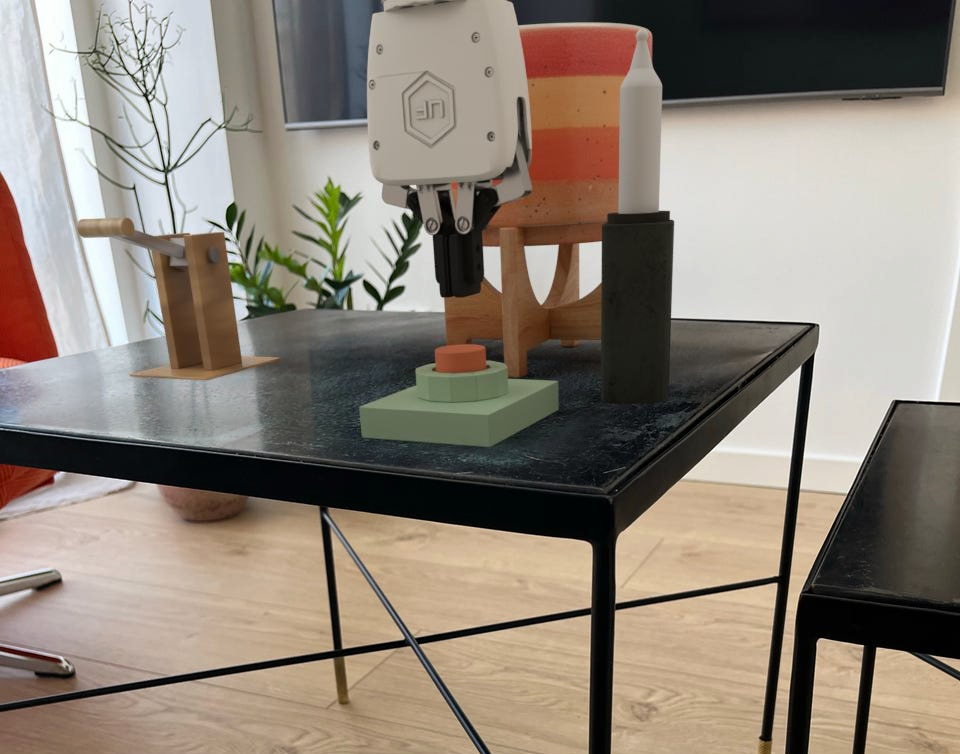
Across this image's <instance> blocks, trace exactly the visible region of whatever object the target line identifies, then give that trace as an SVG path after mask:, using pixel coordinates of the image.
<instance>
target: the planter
mask: <svg viewBox="0 0 960 754" xmlns="http://www.w3.org/2000/svg"><path fill="white" fill-rule="evenodd" d="M518 28H519V33H520V38H521V43H522V49H523V55H524V61H525V68H526V76H527V83H528V93H529V104H530V117H531V134H532V155H531V163H530V166H529V168H528V172H529V176H530V180H531V185H532V192H531V194H530V195H529V196H527V197H525V198H522V199H519V200H516V201H513V202H510V203H507V204H504V205H502V206H501V207H500V208H499V210H498V211H497V212H496V214H495V215H494V216H493V218H492V219H491V220H490V221H489V226H488V228H487V229H486V230H485V231H482V238H483V248H487V247H488V248H490V247H491V248H493V247H495V248H499V252H500V279H501V281H500V282H501V291H499V290H498V289H497V288H496V287H495V286H494V285H493V284H492V283H491V282H490V281H489V280H488V279H487V278H486V277H485V276H484V279H483V281H482V282H481V291H480V293H478V294H474V295H471V296H467V297H463V298H456V297H455V296H453V297H450V298H443V304H444V320H445V321H444V322H445V337H446V338H445V339H446V341H445V342H446V346H449V345H462V344H472V345H473V340H502V341H503V363H505V364H506V366H507V368H508V379H521V378H524V377H525V376H527V375H528V352H529V351H530V350H532V349H534V348H536V347H538V346H540V345H542V344H544V343H546V342H547V341H550V340H551V341H552V340H553V341H560V346H561V347H569V348H570V347H571V348H573V347H576V346H578V345H580V341H601V286H602V281H600V283H599V284H598V285H597V286H596V287H595V288H594V289H593V290H592V291H590V292H589V293H588V294H586V295H585V296H583V297H581V298H580V244H588V243H600V242H602V225H603V224H605V223H607V214H608V213H618V212H619V131H620V87H621V85H622V83H623V81H624V79H625V77H626V76H627V74H628V72H629V70H630V67H631V63H632V59H633V56H634V52H635V48H636V45H637V39H636V34H637V32H638V31H639V30H640V29H645V30H646V31H647V33H648V38H647V45H648V49H649V53H650V57H651V61H652V62H653V34H652V32H651V31H650V30H649V29H648V28H646V27H642V26H639V25H635V24H629V23H628V24H627V23H619V22H618V23H616V22H589V21H587V22H551V23H536V24H535V23H533V24H531V23H530V24H521V25H520V24H518ZM502 180H503V179H502ZM502 180H493V182H492V186H494V185H496V184H499V183H500V182H501V181H502ZM451 185H452V190H453V196H454V201H455V207H456V203H457V187H458V183H451ZM541 246H543V247H544V246H558V247H557V258H556V264H555V270H554V275H553V279H552V283H551V286H550V289H549V291H548V294H547V297H546V298H545V299H544V301H543V302H542V304H541V303H540V302H539V301H538V299H537V297H536V294H535V292H534V289H533V285H532V283H531V279H530V273H529V269H528V264H527V257H526V250H525V249H526V248H525V247H541Z"/></svg>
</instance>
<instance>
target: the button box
mask: <svg viewBox="0 0 960 754" xmlns="http://www.w3.org/2000/svg"><path fill="white" fill-rule="evenodd" d="M559 404H560V403H559V381H558V380H547V379H546V380H545V379H525V378H523V379H521V378H508V368H507V366H506V364H505V363H504V362H499V361H494V360H486V370H483V371H477V372H470V373H439V372H436V362H433V363H428V364H424V365H422V366H419V367H416V368H415V385H413V386H410V387H408V388H405V389H402V390H400V391H397V392H395V393H392V394H389V395H387V396H384V397H382V398H379V399H376V400H373V401H370V402H369V403H366V404H363V405H360V406H358V409H359V410H358V411H359V418H360V419H359V420H360V421H359V422H360V429H361V430H360V431H361V438H363V439H379V440H390V441H391V440H392V441H405V442H415V443H432V444H444V445H457V446H471V447H484V448H491V447H493V446H495V445H496V444H498V443H500V442H502V441H504V440H506V439H508V438H509V437H511V436H514V435H515V434H516V433H518V432H520V431H523V430H524V429H526V428H528V427H529V426H532V425H534V424H536V423H537V422H539V421H541V420H543V419H544V418H546V417H548V416H550V415H552V414H554V413H556V412H557V411H559V409H560V408H559Z"/></svg>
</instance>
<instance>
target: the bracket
mask: <svg viewBox="0 0 960 754" xmlns="http://www.w3.org/2000/svg"><path fill="white" fill-rule="evenodd" d="M225 235H226V234H225V231H214V232H203V233H193V234H191V233H190V232H179V233H168V234H157V235H154V236H155V237H158V238H161V239H164V240H167V241H170V239H171V238H184V243H185V249H186V256H187V262H188V269H189V272H188V271H185V270H182V269H178V268H175V267H172V266H170V256H168V255H165V254H162V253H158V252H155V251H152V250H150V251H151V252H150V253H151V258H152V265H153V270H154V275H155V281H156V282H155V283H156V288H157V294H158V301H159V305H160V311H161V317H162V324H163V329H164V335H165V341H166V347H167V353H168V359H169V364H165V365H161V366H156V367H152V368H149V369H144V370H141V371H137V372H133V373H132V372H131V373H130V374H129V377H132V378H149V379H150V378H151V379H168V380H169V379H170V380H171V379H172V380H191V381H210V380H213V379H217V378H220V377H223V376H224V377H225V376H227V375H231V374H234V373H239V372H241V371H245V370H249V369H252V368H256V367H260V366H263V365H267V364H270V363H274V362H279V361H281V357H273V356H249V355H247V356H246V355H242V351H241V343H240V336H239V330H238V323H237V316H236V307H235V301H234V292H233V286H232V280H231V271H230V265H229V258H228V257H229V256H228V249H227V243H226V236H225Z"/></svg>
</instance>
